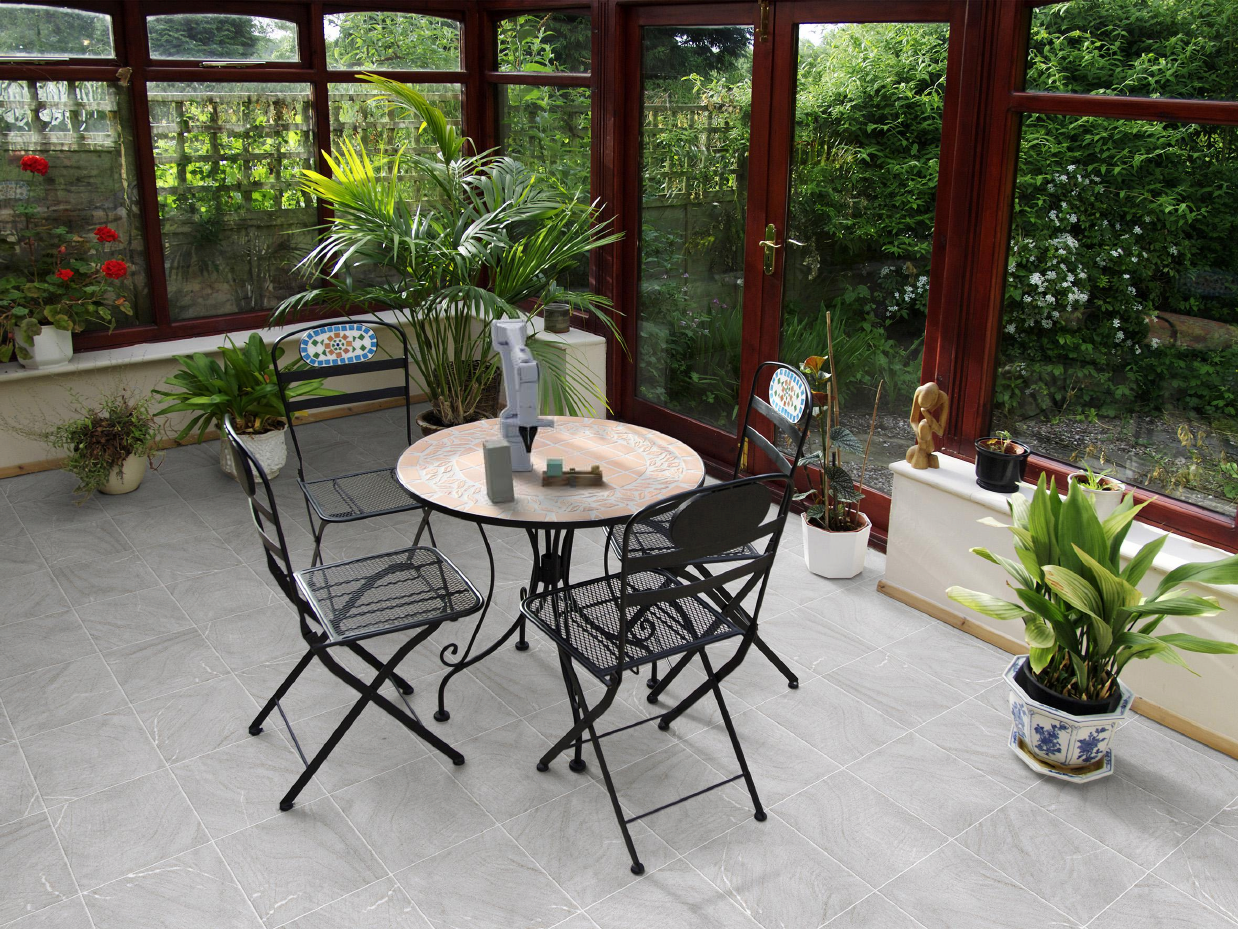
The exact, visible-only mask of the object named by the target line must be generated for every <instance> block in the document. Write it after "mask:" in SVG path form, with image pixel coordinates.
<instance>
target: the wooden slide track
mask: <svg viewBox="0 0 1238 929" xmlns="http://www.w3.org/2000/svg"><path fill="white" fill-rule="evenodd" d="M600 468H601V467H600V465H599V464H592V465H591V466H590V470H586V469H585V470H583V469H582V470H581V469H580V470H576V467H570V468H569V470H563V473H562V476H547V470H542V473H541V486H542V487H569V488H576V487H603V482H604V480H603V475H604V474H603V470H602V469H600Z"/></svg>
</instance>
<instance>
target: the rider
mask: <svg viewBox="0 0 1238 929" xmlns="http://www.w3.org/2000/svg"><path fill="white" fill-rule="evenodd" d="M563 461H564V460H563V458H547V459H546V471H547V476H562V473H563V471H564V468H563V466H564V465H563Z"/></svg>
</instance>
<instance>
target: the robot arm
mask: <svg viewBox="0 0 1238 929" xmlns="http://www.w3.org/2000/svg"><path fill="white" fill-rule="evenodd" d="M490 332H491V340H492V343H491V344H492V346H493V350H494V351H496V352H498V353H499V354H500V355H499V356H500V358H501V365H502V371H503V372H502V373H503V379H504V380H503V381H504V387H505V388H504V390H505V396H506V404H507V405H506V407H505V408H504V409H503V410H501V412H500V413H499V416H498V417H499V433H500V436H501V439H505V440H506V441H507V442H508V444H509V445H510V452H511V464H512V472H532V471H533V461H531V453H532V450H533V443H534V440H535V438H536V435H537V434H538V431H539V430H538V429H539V428H549V429H554V428H555V419H551V418H550V419H549V418H539V384H538V383H540V382H541V368H540V365H539V361H536V360H534V358H533V355H532V352H531V350H530V349H529V347H528V346H525V345H526V341H527V336H528V325H527V321H526V319H525V318H524V317H521V318H510V319H493V320H492V321H491V323H490Z"/></svg>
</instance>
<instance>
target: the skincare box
mask: <svg viewBox="0 0 1238 929" xmlns="http://www.w3.org/2000/svg"><path fill="white" fill-rule="evenodd" d="M482 452H483V454H482V455H483V463H484V473H485V474H484V475H485V476H484V477H485V485H486V495H487V496H488V498H489V500H490V501H491V503H493V504H494V503H503V502H514V501H515V489H514V488H515V487H514V477H513V476H514V475H513V471H512V464H511V452H510V445H509V444H508V442H507V441H506V440H505V439H503V438H497V439H489V440H483V441H482Z"/></svg>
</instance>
